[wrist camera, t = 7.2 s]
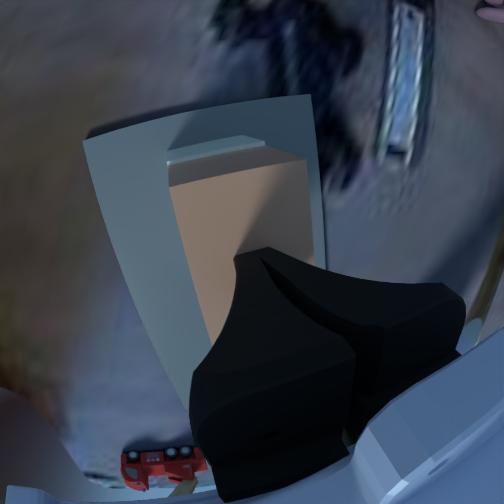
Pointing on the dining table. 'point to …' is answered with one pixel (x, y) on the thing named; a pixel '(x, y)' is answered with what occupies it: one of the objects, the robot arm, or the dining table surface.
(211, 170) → the tan rectangular block
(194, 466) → the toy fire truck
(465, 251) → the dining table surface
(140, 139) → the baseplate
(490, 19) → the pink curved figurine
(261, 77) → the dining table surface
